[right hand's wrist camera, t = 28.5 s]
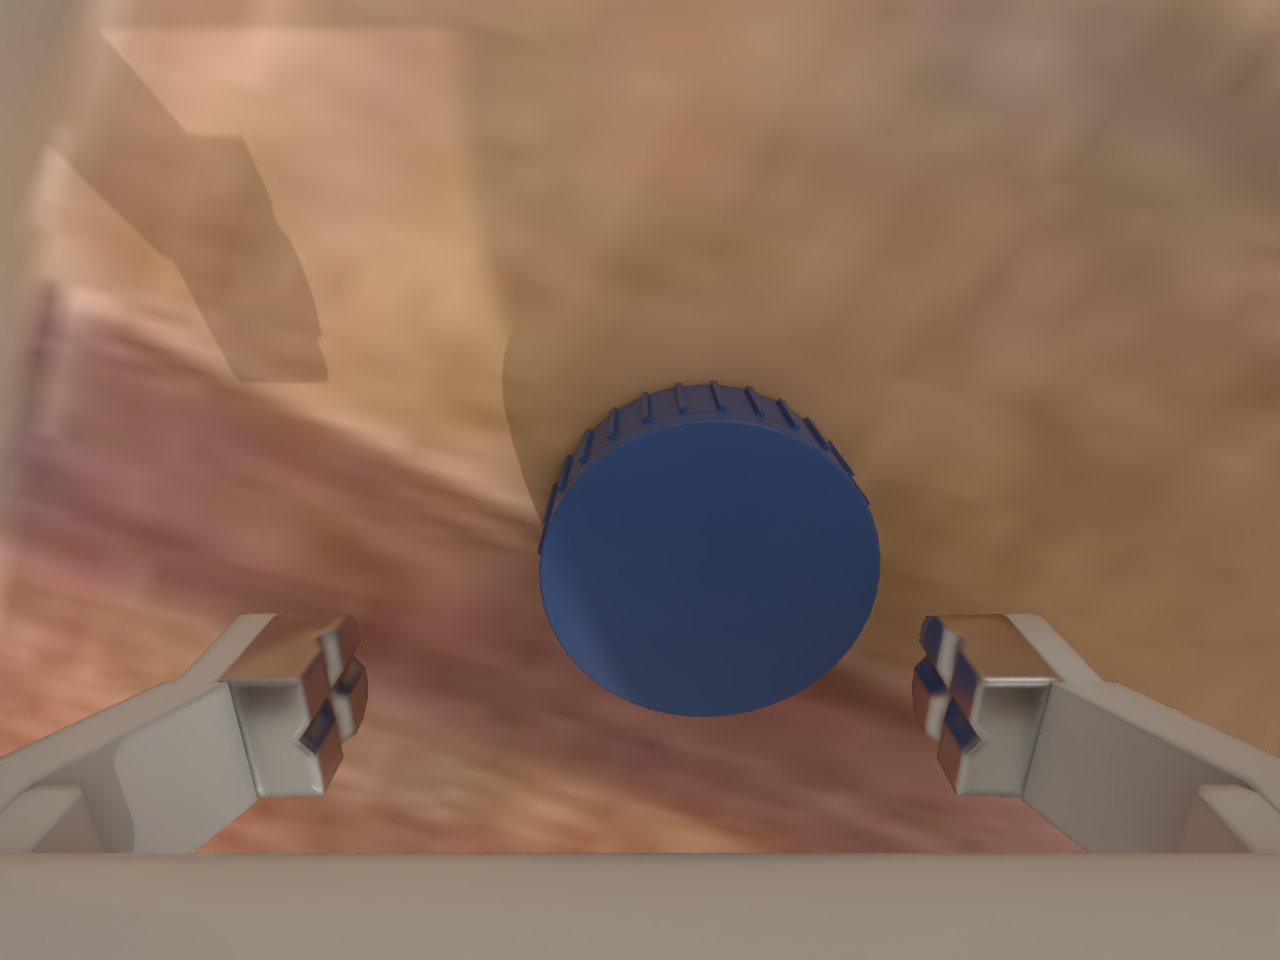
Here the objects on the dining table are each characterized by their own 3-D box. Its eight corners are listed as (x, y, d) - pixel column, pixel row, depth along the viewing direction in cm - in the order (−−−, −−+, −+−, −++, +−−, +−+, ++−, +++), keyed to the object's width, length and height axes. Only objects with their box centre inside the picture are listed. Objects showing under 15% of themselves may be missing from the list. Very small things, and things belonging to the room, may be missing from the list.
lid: (636, 321, 11) (635, 346, 10) (914, 467, 12) (958, 515, 11) (500, 581, 13) (478, 643, 12) (751, 692, 14) (767, 764, 13)
